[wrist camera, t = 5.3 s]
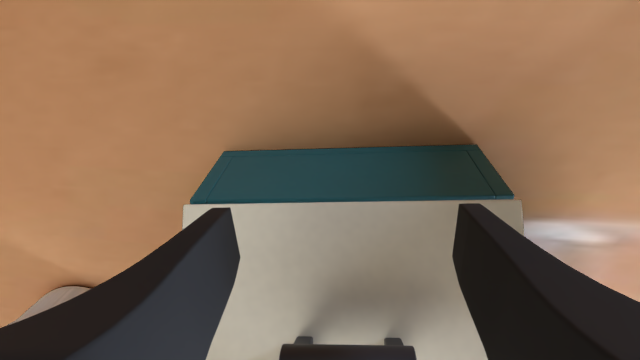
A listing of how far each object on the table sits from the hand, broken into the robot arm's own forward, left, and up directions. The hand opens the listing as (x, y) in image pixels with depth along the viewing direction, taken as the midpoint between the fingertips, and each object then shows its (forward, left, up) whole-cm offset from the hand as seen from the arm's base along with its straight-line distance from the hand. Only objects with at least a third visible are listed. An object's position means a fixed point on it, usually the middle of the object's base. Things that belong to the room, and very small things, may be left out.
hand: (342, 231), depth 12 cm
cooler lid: (-6, -1, -1) cm, 7 cm away
